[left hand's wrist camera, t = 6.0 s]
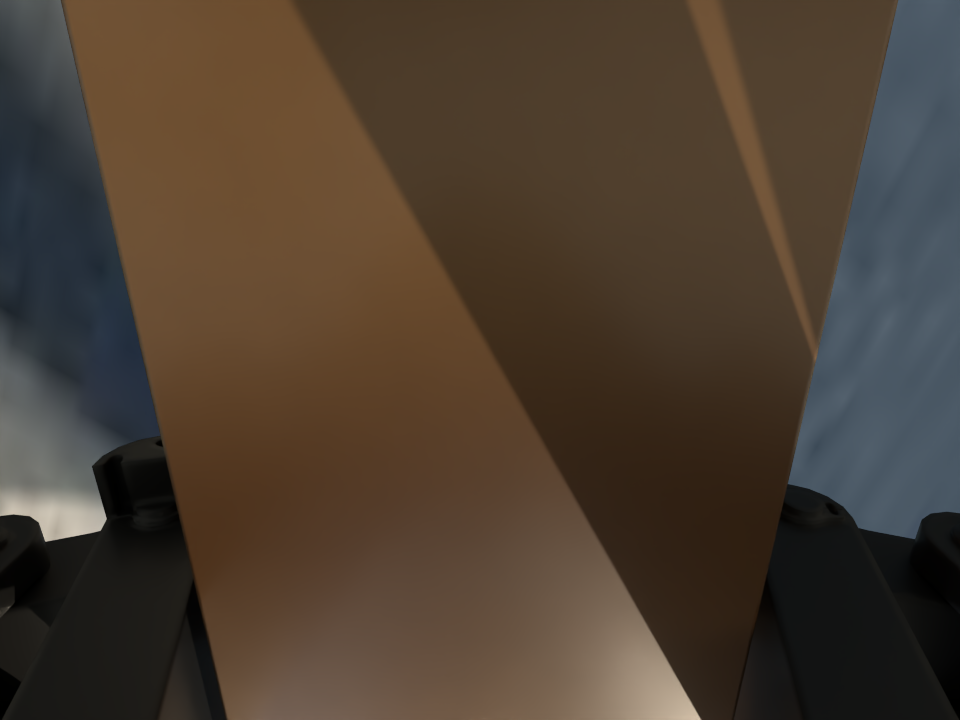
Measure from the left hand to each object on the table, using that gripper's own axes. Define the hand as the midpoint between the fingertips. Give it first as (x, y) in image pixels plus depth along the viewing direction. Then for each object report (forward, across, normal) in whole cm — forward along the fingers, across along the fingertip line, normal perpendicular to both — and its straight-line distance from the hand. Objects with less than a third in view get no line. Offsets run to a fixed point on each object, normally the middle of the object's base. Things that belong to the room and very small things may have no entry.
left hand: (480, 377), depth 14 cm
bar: (+1, 0, -8) cm, 8 cm away
